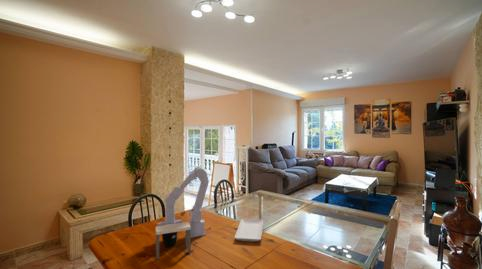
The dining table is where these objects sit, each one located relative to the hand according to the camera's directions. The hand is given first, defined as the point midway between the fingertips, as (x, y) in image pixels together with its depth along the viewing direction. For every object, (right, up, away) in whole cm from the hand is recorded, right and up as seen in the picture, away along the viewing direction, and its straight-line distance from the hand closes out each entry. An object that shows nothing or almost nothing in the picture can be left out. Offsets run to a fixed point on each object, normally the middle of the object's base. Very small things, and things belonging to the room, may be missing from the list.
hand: (170, 236), depth 144 cm
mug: (+3, -2, -7) cm, 8 cm away
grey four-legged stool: (+7, -2, -17) cm, 18 cm away
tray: (+51, -2, +9) cm, 52 cm away
